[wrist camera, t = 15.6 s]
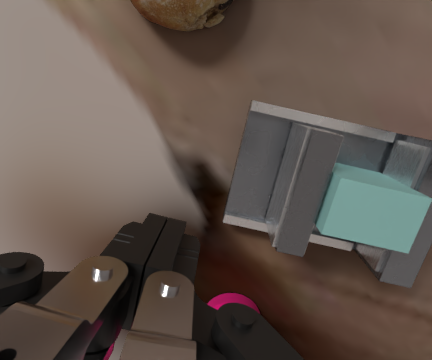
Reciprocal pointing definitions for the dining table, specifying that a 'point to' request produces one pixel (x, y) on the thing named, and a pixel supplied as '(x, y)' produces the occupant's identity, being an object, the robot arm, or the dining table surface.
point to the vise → (348, 155)
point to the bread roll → (183, 12)
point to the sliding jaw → (301, 187)
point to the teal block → (371, 209)
